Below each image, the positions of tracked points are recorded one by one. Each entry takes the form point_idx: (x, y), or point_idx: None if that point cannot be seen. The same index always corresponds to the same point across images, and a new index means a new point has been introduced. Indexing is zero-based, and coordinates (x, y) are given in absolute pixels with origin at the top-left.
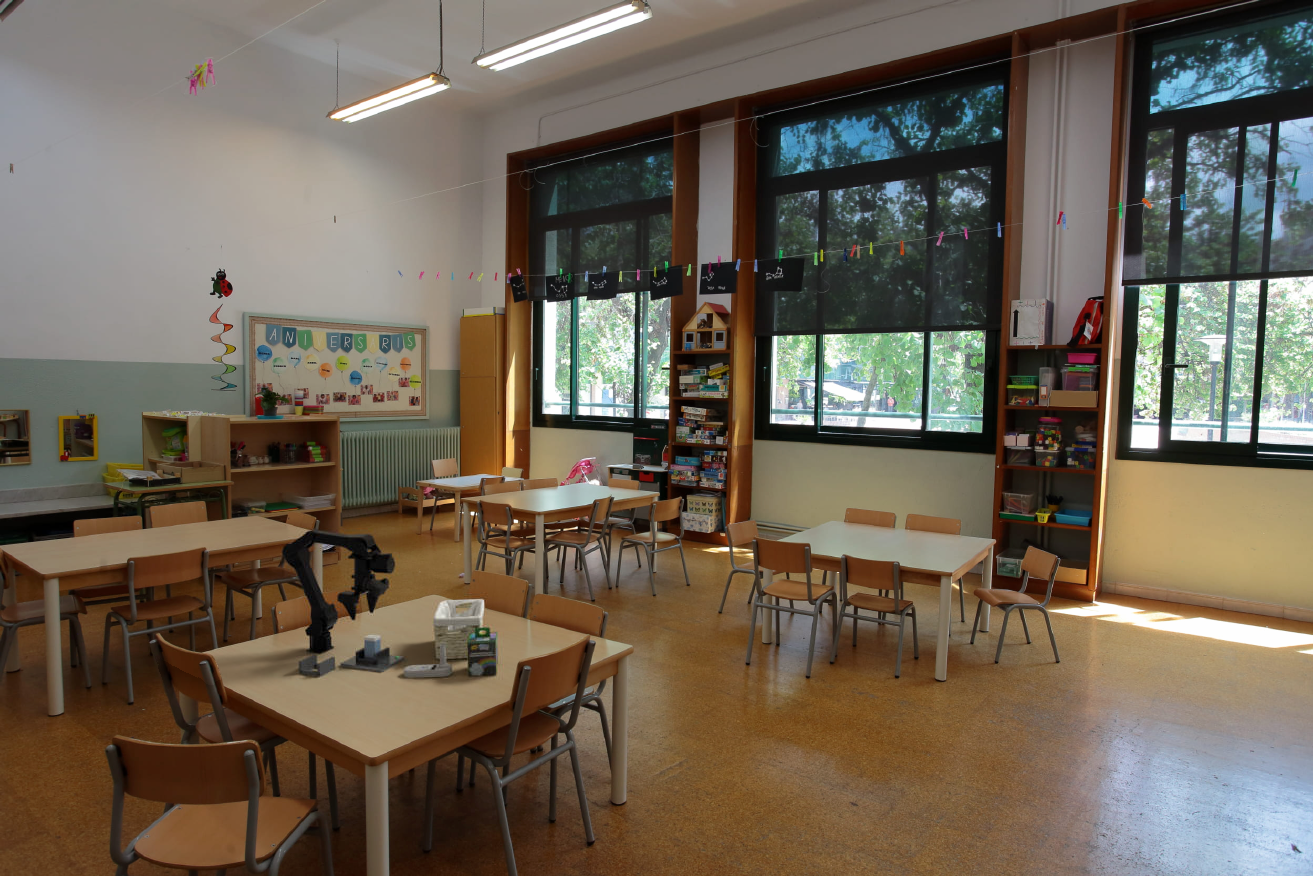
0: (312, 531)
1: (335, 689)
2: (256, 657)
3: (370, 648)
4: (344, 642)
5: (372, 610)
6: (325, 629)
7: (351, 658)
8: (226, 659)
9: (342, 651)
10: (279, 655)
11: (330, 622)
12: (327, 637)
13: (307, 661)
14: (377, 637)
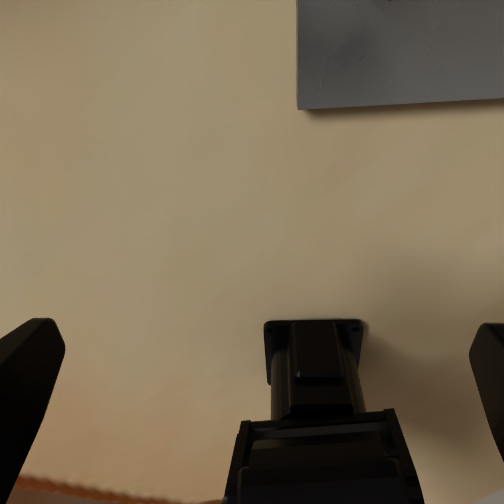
0: None
1: None
2: (449, 458)
3: None
4: (176, 326)
5: (30, 347)
6: (362, 432)
7: (469, 88)
8: (478, 498)
9: (292, 258)
10: (415, 423)
11: (350, 468)
12: (323, 380)
13: None
14: None
